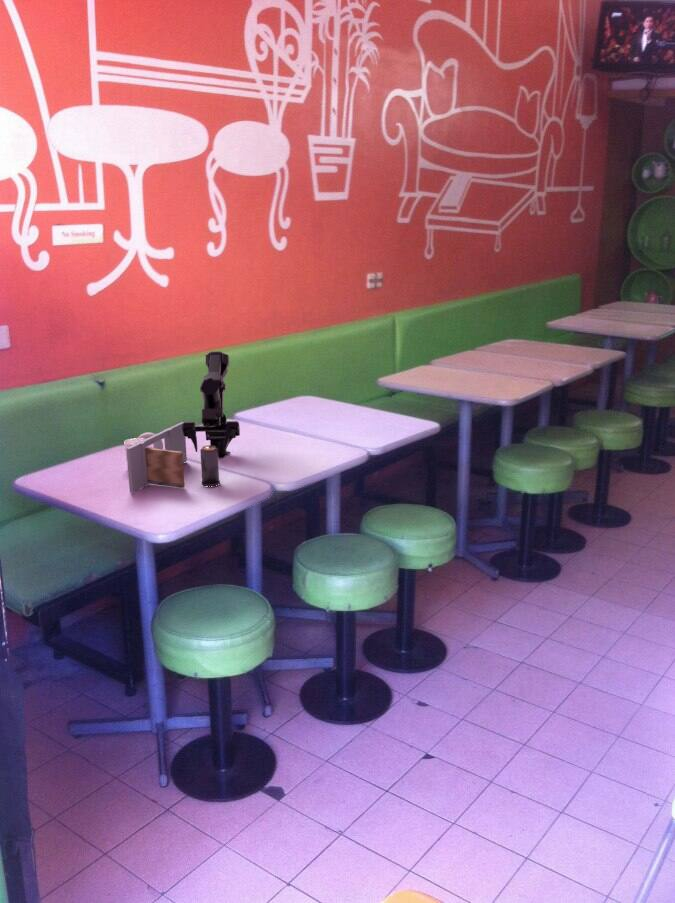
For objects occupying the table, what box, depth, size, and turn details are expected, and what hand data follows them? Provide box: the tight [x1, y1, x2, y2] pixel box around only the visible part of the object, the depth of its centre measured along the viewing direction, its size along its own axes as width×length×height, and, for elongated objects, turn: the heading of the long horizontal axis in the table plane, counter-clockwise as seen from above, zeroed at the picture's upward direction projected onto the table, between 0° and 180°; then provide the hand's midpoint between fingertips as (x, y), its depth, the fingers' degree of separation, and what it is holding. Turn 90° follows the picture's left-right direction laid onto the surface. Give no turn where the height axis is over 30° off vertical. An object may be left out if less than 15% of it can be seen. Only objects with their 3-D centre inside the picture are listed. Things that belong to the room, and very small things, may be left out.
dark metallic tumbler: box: [199, 444, 221, 488], centre depth 280 cm, size 6×6×13 cm
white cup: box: [123, 437, 148, 468], centre depth 297 cm, size 8×8×10 cm
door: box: [145, 447, 186, 489], centre depth 278 cm, size 14×1×12 cm, turn 70°
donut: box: [137, 431, 164, 450], centre depth 308 cm, size 10×4×10 cm, turn 94°
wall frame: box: [126, 421, 188, 494], centre depth 288 cm, size 34×2×15 cm, turn 159°
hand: (210, 451), depth 282 cm, fingers open, 9 cm apart
